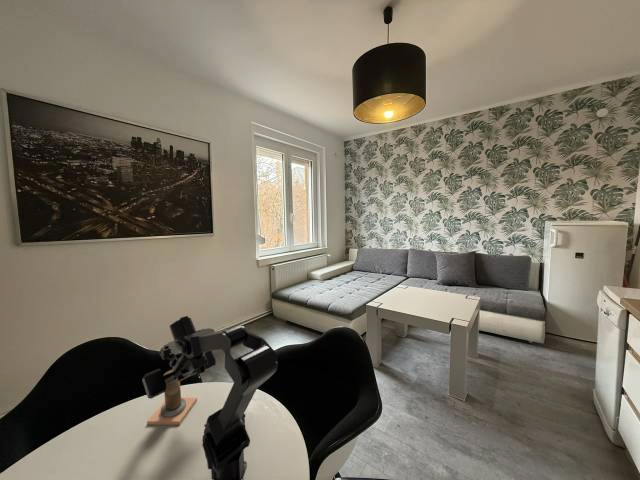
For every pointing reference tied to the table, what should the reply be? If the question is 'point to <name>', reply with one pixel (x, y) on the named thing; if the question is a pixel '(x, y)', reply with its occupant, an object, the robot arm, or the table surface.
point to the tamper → (172, 399)
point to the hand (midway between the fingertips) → (175, 381)
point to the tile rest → (176, 420)
